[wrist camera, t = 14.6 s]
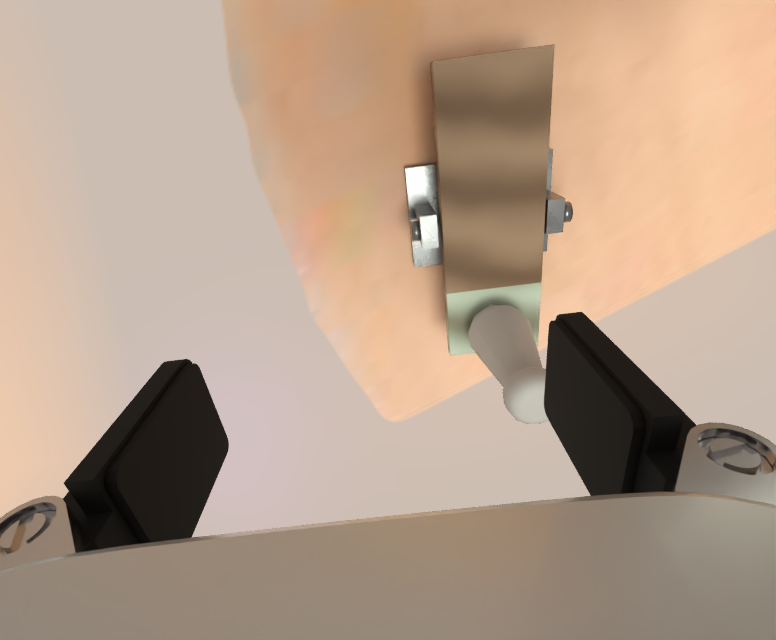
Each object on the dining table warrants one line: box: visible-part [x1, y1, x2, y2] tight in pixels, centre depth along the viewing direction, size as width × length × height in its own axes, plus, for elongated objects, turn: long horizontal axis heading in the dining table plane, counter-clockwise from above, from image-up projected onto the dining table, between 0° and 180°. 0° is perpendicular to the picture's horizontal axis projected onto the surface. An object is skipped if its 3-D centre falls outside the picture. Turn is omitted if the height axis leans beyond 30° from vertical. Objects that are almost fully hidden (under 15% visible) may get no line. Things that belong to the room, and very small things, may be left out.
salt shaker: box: [468, 304, 549, 424], centre depth 35 cm, size 6×6×13 cm
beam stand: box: [405, 149, 573, 267], centre depth 39 cm, size 10×14×6 cm
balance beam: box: [430, 44, 554, 356], centre depth 37 cm, size 26×9×2 cm, turn 7°
